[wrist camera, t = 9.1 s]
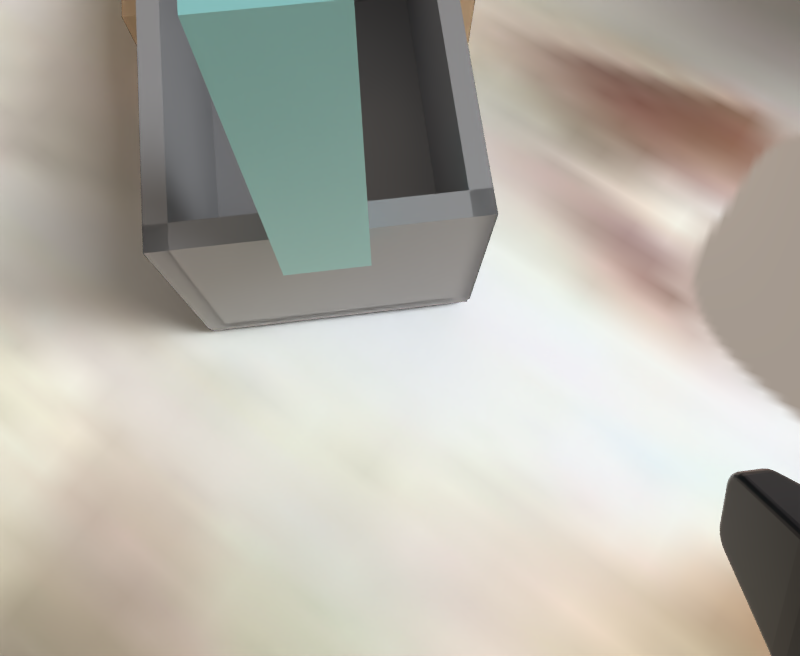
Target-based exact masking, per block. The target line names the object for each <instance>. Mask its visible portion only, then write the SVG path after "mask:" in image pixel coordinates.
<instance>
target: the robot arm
mask: <svg viewBox="0 0 800 656" xmlns="http://www.w3.org/2000/svg"><path fill="white" fill-rule="evenodd" d="M720 537H721V542H722V545H723V548H724V551H725V553H726V555H727V557H728V560H729V562H730V564H731V566H732V569H733V571H734V573H735V575H736V578H737V580H738V582H739V584H740V587H741V589H742V591H743V593H744V596H745V598H746V600H747V602H748V605H749V607H750V609H751V611H752V614H753V616H754V618H755V620H756V622H757V625H758V627H759V629H760V631H761V634H762V636H763V638H764V640H765V643H766V645H767V647H768V649H769V652H770V654H771V656H800V484H799V483H797V482H795V481H793V480H791V479H789V478H787V477H785V476H783V475H781V474H780V473H778V472H775V471H773V470H770V469H756V470H748V471H741V472H736V473H734V474H732V475H731V477H730V478H729V480H728V483H727V488H726V494H725V500H724V505H723V511H722V517H721V522H720Z"/></svg>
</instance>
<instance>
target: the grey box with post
mask: <svg viewBox="0 0 800 656" xmlns="http://www.w3.org/2000/svg"><path fill="white" fill-rule="evenodd" d="M136 28H137V62H138V96H139V130H140V164H141V199H142V233H143V254H144V255H145V256H146V257H147V258H148V260H149V261H150V262H151V263H152V264H153V265H154V266H155V268H156V269H157V270H158V271H159V272H160V273H161V274H162V276H163V277H164V278H165V279H166V280H167V281H168V283H169V284H170V285H171V286H172V287H173V288H174V289H175V291H176V292H177V293H178V294H179V295H180V296H181V297H182V299H183V300H184V301H185V302H186V303H187V304H188V305H189V307H190V308H191V309H192V310H193V311H194V312H195V313H196V315H197V316H198V317H199V318H200V319H201V320H202V321H203V323H204V324H205V325H206V326H207V327H208V328H209V329H212V331H216V330H225V329H234V328H242V327H251V326H259V325H268V324H277V323H285V322H294V321H303V320H311V319H320V318H329V317H337V316H346V315H354V314H363V313H372V312H380V311H389V310H398V309H406V308H415V307H423V306H432V305H441V304H449V303H458V302H467V300H468V299H470V296H471V293H472V290H473V287H474V284H475V281H476V278H477V275H478V272H479V269H480V266H481V263H482V260H483V257H484V254H485V251H486V249H487V246H488V243H489V240H490V237H491V234H492V231H493V228H494V225H495V222H496V219H497V216H498V211H497V206H496V200H495V194H494V189H493V183H492V177H491V172H490V166H489V161H488V155H487V149H486V144H485V138H484V133H483V127H482V121H481V116H480V110H479V105H478V99H477V93H476V88H475V82H474V77H473V71H472V65H471V60H470V54H469V49H468V43H467V37H466V32H465V26H464V21H463V15H462V9H461V4H460V0H136Z"/></svg>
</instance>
